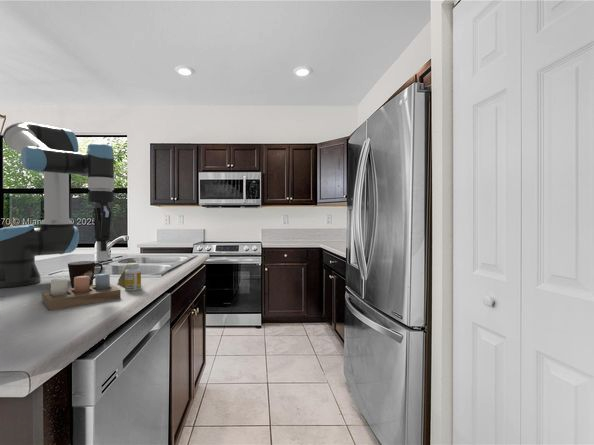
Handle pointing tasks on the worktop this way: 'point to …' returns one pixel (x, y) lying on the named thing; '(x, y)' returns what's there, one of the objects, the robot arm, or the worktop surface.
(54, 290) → the off-white egg
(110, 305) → the worktop surface
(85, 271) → the coffee mug
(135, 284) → the supplement bottle
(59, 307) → the brown wooden flat block
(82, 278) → the peach oval egg shape
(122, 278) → the rock
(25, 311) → the worktop surface
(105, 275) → the pale blue egg
